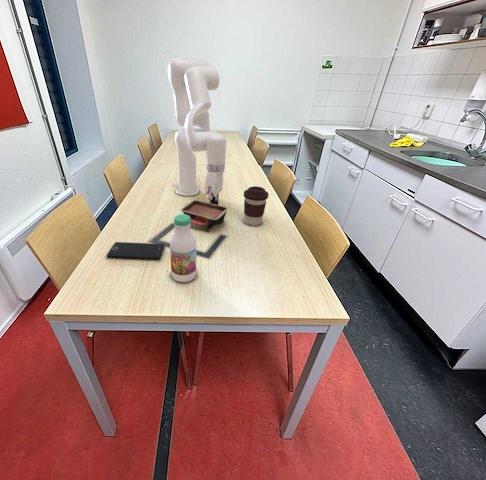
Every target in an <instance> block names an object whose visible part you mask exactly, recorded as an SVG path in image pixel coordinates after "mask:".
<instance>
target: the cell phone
mask: <svg viewBox="0 0 486 480" xmlns="http://www.w3.org/2000/svg"><path fill="white" fill-rule="evenodd" d="M164 249H165V246H164V244H157V243H151V242H150V243H148V242H124V241H115V242H114V244H113V245H112V246H111V248H110V249H109V251H108V252H107V253H106V257H107V258H114V259H133V260H134V259H135V260H136V259H137V260H157V261H159V260H161V257H162V255H163V252H164Z"/></svg>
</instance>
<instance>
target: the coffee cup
mask: <svg viewBox="0 0 486 480" xmlns="http://www.w3.org/2000/svg"><path fill="white" fill-rule="evenodd" d="M269 196H270V195H269V192H268V191H266V189H265V188H264V187H261V186H258V185H257V186H254V185H253V186H249V187H248V188H247V189H245V190H244V191H243V197H244V200H243V201H244V203H243V214H244V216H243V218H244V219H243V221H244V224H246V225H248V226H253V227H255V226H260V225H261V224H262V221H263V216H264V214H265V210H266V205H267V200H268V199H269Z"/></svg>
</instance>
